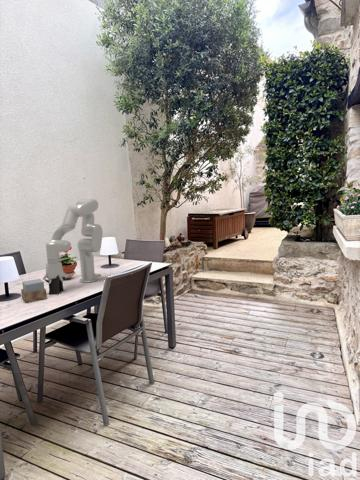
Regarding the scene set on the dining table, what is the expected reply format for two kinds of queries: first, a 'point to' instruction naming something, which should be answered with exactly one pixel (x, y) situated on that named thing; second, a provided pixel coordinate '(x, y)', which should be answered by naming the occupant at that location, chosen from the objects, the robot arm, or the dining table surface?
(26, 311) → the dining table surface
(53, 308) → the dining table surface
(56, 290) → the phone stand
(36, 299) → the base block
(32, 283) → the top block
